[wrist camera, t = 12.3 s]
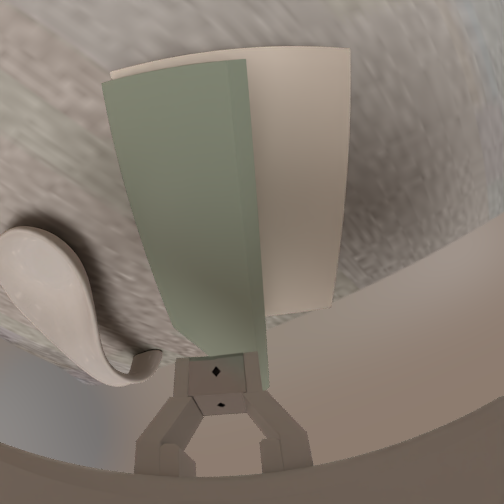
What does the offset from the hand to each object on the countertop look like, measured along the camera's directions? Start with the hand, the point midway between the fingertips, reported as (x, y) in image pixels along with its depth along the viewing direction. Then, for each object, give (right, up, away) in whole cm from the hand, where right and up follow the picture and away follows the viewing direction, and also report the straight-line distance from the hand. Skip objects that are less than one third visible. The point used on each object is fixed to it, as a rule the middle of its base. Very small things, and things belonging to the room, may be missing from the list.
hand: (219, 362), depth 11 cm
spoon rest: (-17, -1, +19) cm, 25 cm away
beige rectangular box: (-1, +9, +12) cm, 16 cm away
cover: (-2, +4, +5) cm, 7 cm away
